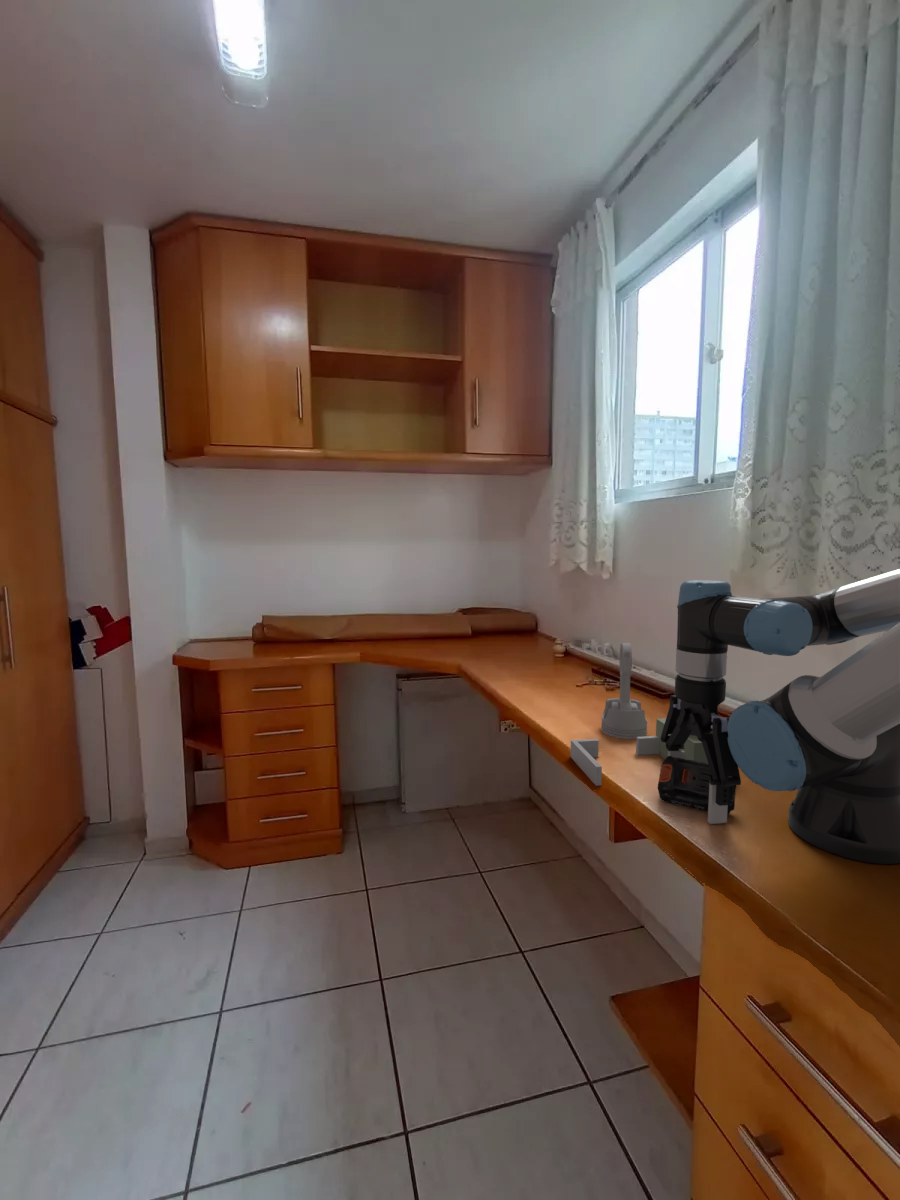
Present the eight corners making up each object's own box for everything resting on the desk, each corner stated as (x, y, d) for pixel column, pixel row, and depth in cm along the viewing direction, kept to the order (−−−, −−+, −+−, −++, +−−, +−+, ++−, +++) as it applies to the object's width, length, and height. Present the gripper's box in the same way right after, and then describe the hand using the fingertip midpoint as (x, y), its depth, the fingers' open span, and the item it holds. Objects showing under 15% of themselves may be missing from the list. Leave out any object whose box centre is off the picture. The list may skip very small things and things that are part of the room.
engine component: (602, 737, 123) (650, 740, 121) (605, 647, 121) (653, 648, 119) (599, 721, 134) (643, 724, 132) (601, 638, 131) (645, 640, 129)
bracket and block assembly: (733, 777, 102) (736, 719, 101) (596, 785, 99) (597, 726, 97) (691, 749, 116) (693, 698, 114) (569, 755, 112) (570, 703, 111)
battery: (655, 802, 96) (651, 792, 90) (667, 757, 99) (663, 745, 94) (731, 828, 89) (731, 818, 84) (741, 779, 92) (741, 767, 87)
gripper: (774, 695, 78) (765, 840, 80) (682, 659, 101) (677, 772, 104) (724, 697, 77) (717, 844, 79) (643, 660, 100) (639, 774, 103)
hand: (694, 803), depth 91 cm, fingers open, 12 cm apart
